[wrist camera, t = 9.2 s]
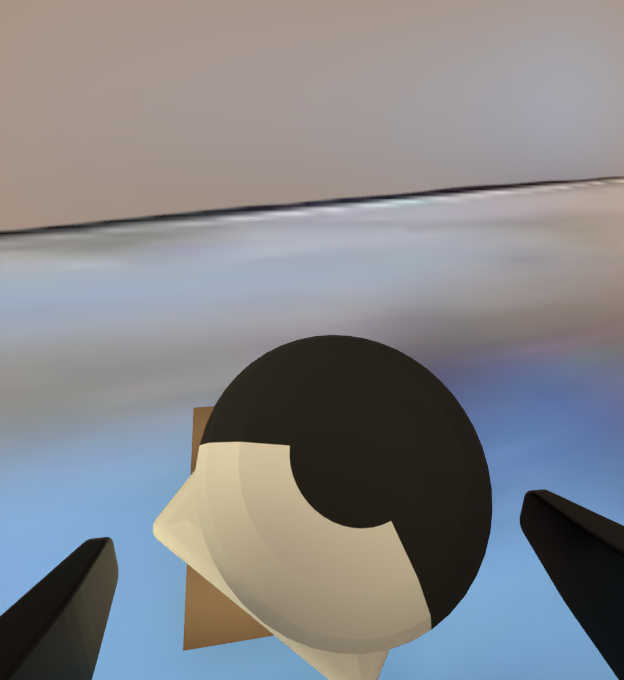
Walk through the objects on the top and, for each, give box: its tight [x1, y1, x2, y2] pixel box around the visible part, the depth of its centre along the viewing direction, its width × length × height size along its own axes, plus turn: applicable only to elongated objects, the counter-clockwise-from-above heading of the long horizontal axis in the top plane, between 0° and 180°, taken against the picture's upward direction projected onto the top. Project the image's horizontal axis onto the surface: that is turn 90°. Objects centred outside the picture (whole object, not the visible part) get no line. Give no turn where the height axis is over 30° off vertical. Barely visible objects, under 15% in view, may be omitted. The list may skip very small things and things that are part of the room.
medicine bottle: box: [153, 335, 492, 680], centre depth 12 cm, size 7×7×12 cm
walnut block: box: [183, 406, 274, 651], centre depth 19 cm, size 10×10×3 cm
